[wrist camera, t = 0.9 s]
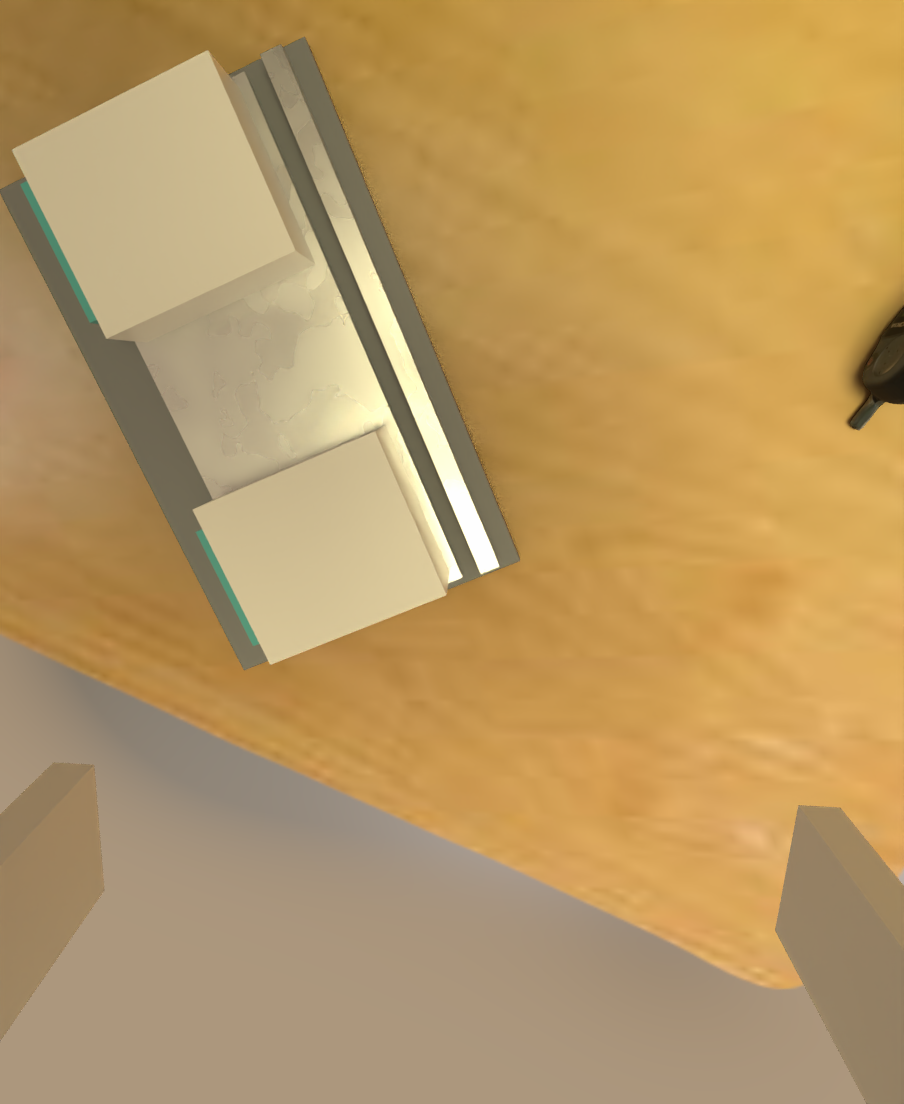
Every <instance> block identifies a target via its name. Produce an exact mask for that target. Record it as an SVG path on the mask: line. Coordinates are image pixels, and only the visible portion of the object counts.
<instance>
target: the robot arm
mask: <svg viewBox="0 0 904 1104" xmlns="http://www.w3.org/2000/svg"><path fill="white" fill-rule="evenodd" d="M103 891H104V879H103V867H102V855H101V842H100V831H99V818H98V805H97V794H96V782H95V769H94V765H87V764H70V763H53V764H52V765H51V766H50V767H49V768H47V770H45V771H44V772H43V773H42V774H41V775H40V776H39V777H38V778H37V779H36V780H35V781H34V782H33V783H32V784H31V785H30V786H29V787H28V788H27V789H26V790H25V791H24V792H23V793H22V794H21V795H20V796H19V797H18V798H17V799H16V800H15V801H14V802H12V803H11V804H10V805H9V806H8V807H7V808H6V809H5V810H4V811H3V812H2V813H1V814H0V1041H1V1039H2V1038H3V1037H4V1035H5V1034H6V1032H7V1031H8V1029H9V1028H10V1026H11V1025H12V1024H13V1022H14V1021H15V1019H16V1018H17V1016H18V1015H19V1013H20V1012H21V1010H22V1009H23V1007H24V1006H25V1005H26V1003H27V1002H28V1000H29V999H30V997H31V996H32V994H33V993H34V992H35V990H36V989H37V987H38V986H39V984H40V983H41V981H42V980H43V979H44V977H45V976H46V974H47V973H48V971H49V970H50V968H51V967H52V966H53V964H54V963H55V961H56V960H57V958H58V957H59V955H60V954H61V952H62V951H63V950H64V948H65V947H66V945H67V944H68V942H69V941H70V939H71V938H72V937H73V935H74V934H75V932H76V931H77V929H78V928H79V926H80V925H81V924H82V922H83V921H84V919H85V918H86V916H87V915H88V913H89V912H90V910H91V909H92V907H93V906H94V905H95V903H96V902H97V900H98V899H99V897H100V896H101V895H102V893H103ZM775 931H776V933H777V935H778V937H779V939H780V941H781V942H782V944H783V946H784V948H785V950H786V952H787V954H788V956H789V958H790V960H791V961H792V963H793V965H794V967H795V969H796V971H797V973H798V975H799V977H800V979H801V980H802V982H803V984H804V986H805V988H806V990H807V992H808V994H809V996H810V998H811V999H812V1001H813V1003H814V1005H815V1007H816V1009H817V1011H818V1013H819V1015H820V1016H821V1018H822V1020H823V1022H824V1024H825V1026H826V1028H827V1030H828V1032H829V1033H830V1036H831V1037H832V1039H833V1041H834V1043H835V1045H836V1047H837V1049H838V1051H839V1052H840V1055H841V1056H842V1058H843V1060H844V1062H845V1064H846V1066H847V1068H848V1070H849V1072H850V1073H851V1075H852V1077H853V1079H854V1081H855V1083H856V1085H857V1087H858V1089H859V1091H860V1092H861V1094H862V1096H863V1098H864V1100H865V1102H866V1104H904V885H903V884H902V883H901V882H900V881H899V879H898V878H897V877H896V876H895V874H894V873H893V872H892V871H891V870H890V868H889V867H888V866H887V865H886V863H885V862H884V861H883V860H882V858H881V857H880V856H879V855H878V854H877V852H876V851H875V850H874V849H873V847H872V846H871V845H870V844H869V842H868V841H867V840H866V839H865V838H864V836H863V835H862V834H861V833H860V831H859V830H858V829H857V828H856V827H855V825H854V824H853V823H852V822H851V820H850V819H849V818H848V817H847V815H846V814H845V813H844V812H843V811H842V809H841V808H837V807H820V806H802V805H798V811H797V816H796V821H795V827H794V832H793V837H792V843H791V848H790V853H789V859H788V864H787V869H786V875H785V880H784V886H783V891H782V896H781V902H780V907H779V912H778V918H777V923H776V928H775Z"/></svg>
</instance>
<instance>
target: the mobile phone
mask: <svg viewBox="0 0 904 1104" xmlns="http://www.w3.org/2000/svg"><path fill="white" fill-rule="evenodd" d="M862 380H863V382H864V385H865V387H866V388H867V389H868V390H869V391H870V392H871V395H870V397H869V398H868V400H867V402H866V403H865V404H864V405H863V406H862V408H861V409H860V410H859V411H858V413H857V414H856V415H855V416H854V418H853V419H852V420H851V422H850V425H851V426H852V428H854V429H856V430H860V429H862V428H863V427H864V426H865V425H866V423H867V422H868V421H869V420H870V418H871V417H872V416H873V414H874V413H875V412H876V410H877V409H878V408H879V407H880V406H881V405H882V404H883V403H885V402H888V403H893V404H904V308H903V309H902V310H901V311H900V313H899V314H898V315H897V317H896V318H895V319H894V320H893V322H892V323H891V324H890V326H889V327H888V328H887V330H886V331H885V333H884V334H883V336H882V337H881V339H880V341H879V343H878V346H877V347H876V349H875V351H874V352H873V354H872V356H871V357H870V359H869V361H868V362H867V364H866V366H865V368H864V371H863V377H862Z"/></svg>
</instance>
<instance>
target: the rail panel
mask: <svg viewBox="0 0 904 1104" xmlns="http://www.w3.org/2000/svg"><path fill="white" fill-rule="evenodd" d="M260 56H261V59H259V60H257V61H255V62H253V63H251V64H249V65H247V66H245V67H243V68H241V69H239V70H237V71H235V72H233V73H231V74H229V75H228V74H227V73H226V71H225V70H224V69H223V68H222V67H221V65H220V64H219V63H218V62H217V60H216V59H215V58H214V57H213V56H212V54H211V53H210V52H209V51H208V50H207V51H205V52H203V53H201V54H199V55H197V56H195V57H193V58H191V59H189V60H187V61H185V62H183V63H181V64H179V65H177V66H175V67H173V68H171V69H169V70H167V71H165V72H163V73H161V74H159V75H158V76H156V77H154V78H152V79H150V80H148V81H146V82H144V83H142V84H140V85H138V86H136V87H134V88H132V89H130V90H128V91H126V92H124V93H122V94H120V95H118V96H116V97H114V98H112V99H110V100H108V101H106V102H104V103H102V104H100V105H99V106H97V107H95V108H93V109H91V110H89V111H87V112H85V113H83V114H81V115H79V116H77V117H75V118H73V119H71V120H69V121H67V122H65V123H63V124H61V125H59V126H57V127H55V128H53V129H51V130H49V131H47V132H45V133H43V134H41V135H39V136H38V137H36V138H34V139H32V140H30V141H28V142H26V143H24V144H22V145H20V146H18V147H16V148H14V149H12V152H13V154H14V156H15V158H16V160H17V162H18V164H19V166H20V168H21V170H22V172H23V174H24V176H25V177H24V178H22V179H20V180H18V181H16V182H14V183H12V184H10V185H8V186H6V187H4V188H2V189H0V194H1V196H2V198H3V200H4V202H5V204H6V206H7V208H8V210H9V212H10V214H11V216H12V217H13V219H14V221H15V223H16V225H17V227H18V229H19V231H20V233H21V235H22V237H23V239H24V241H25V243H26V245H27V247H28V249H29V251H30V253H31V255H32V257H33V259H34V261H35V262H36V264H37V266H38V268H39V270H40V272H41V274H42V276H43V278H44V280H45V282H46V284H47V286H48V288H49V290H50V292H51V294H52V296H53V298H54V300H55V302H56V304H57V305H58V307H59V309H60V311H61V313H62V315H63V317H64V319H65V321H66V323H67V325H68V327H69V329H70V331H71V333H72V335H73V337H74V339H75V341H76V343H77V345H78V347H79V348H80V350H81V352H82V354H83V356H84V358H85V360H86V362H87V364H88V366H89V368H90V370H91V372H92V374H93V376H94V378H95V380H96V382H97V384H98V386H99V388H100V390H101V392H102V393H103V395H104V397H105V399H106V401H107V403H108V405H109V407H110V409H111V411H112V413H113V415H114V417H115V419H116V421H117V423H118V425H119V427H120V429H121V431H122V433H123V435H124V436H125V438H126V440H127V442H128V444H129V446H130V448H131V450H132V452H133V454H134V456H135V458H136V460H137V462H138V464H139V466H140V468H141V470H142V472H143V474H144V476H145V478H146V480H147V481H148V483H149V485H150V487H151V489H152V491H153V493H154V495H155V497H156V499H157V501H158V503H159V505H160V507H161V509H162V511H163V513H164V515H165V517H166V519H167V521H168V523H169V524H170V526H171V528H172V530H173V532H174V534H175V536H176V538H177V540H178V542H179V544H180V546H181V548H182V550H183V552H184V554H185V556H186V558H187V560H188V562H189V564H190V566H191V567H192V569H193V571H194V573H195V575H196V577H197V579H198V581H199V583H200V585H201V587H202V589H203V591H204V593H205V595H206V597H207V599H208V601H209V603H210V605H211V607H212V609H213V611H214V612H215V614H216V616H217V618H218V620H219V622H220V624H221V626H222V628H223V630H224V632H225V634H226V636H227V638H228V640H229V642H230V644H231V646H232V648H233V650H234V652H235V654H236V655H237V657H238V659H239V661H240V663H241V665H242V667H243V669H244V670H246V669H249V668H251V667H254V666H256V665H259V664H261V663H264V662H266V661H269V663H270V665H271V664H274V663H276V662H279V661H281V660H284V659H286V658H289V657H291V656H294V655H297V654H299V653H302V652H304V651H307V650H309V649H312V648H314V647H317V646H319V645H322V644H324V643H327V642H329V641H332V640H334V639H337V638H339V637H342V636H345V635H347V634H350V633H352V632H355V631H357V630H360V629H362V628H365V627H367V626H370V625H372V624H375V623H377V622H380V621H382V620H385V619H387V618H390V617H393V616H395V615H398V614H400V613H403V612H405V611H408V610H410V609H413V608H415V607H418V606H420V605H423V604H425V603H428V602H430V601H433V600H436V599H438V598H441V597H443V596H446V595H447V590H448V589H450V588H453V587H455V586H458V585H460V584H463V583H465V582H468V581H471V580H473V579H476V578H478V577H481V576H483V575H486V574H488V573H491V572H493V571H496V570H498V569H501V568H503V567H506V566H508V565H511V564H513V563H516V562H518V561H520V558H519V555H518V552H517V550H516V547H515V545H514V542H513V540H512V538H511V535H510V533H509V530H508V528H507V525H506V523H505V521H504V518H503V516H502V513H501V511H500V508H499V506H498V504H497V501H496V499H495V496H494V494H493V491H492V489H491V486H490V484H489V482H488V479H487V477H486V474H485V472H484V469H483V467H482V465H481V462H480V460H479V457H478V455H477V452H476V450H475V448H474V445H473V443H472V440H471V438H470V435H469V433H468V431H467V428H466V426H465V423H464V421H463V418H462V416H461V414H460V411H459V409H458V406H457V404H456V401H455V399H454V397H453V394H452V392H451V389H450V387H449V384H448V382H447V380H446V377H445V375H444V372H443V370H442V367H441V365H440V363H439V360H438V358H437V355H436V353H435V350H434V348H433V346H432V343H431V341H430V338H429V336H428V333H427V331H426V329H425V326H424V324H423V321H422V319H421V316H420V314H419V312H418V309H417V307H416V304H415V302H414V299H413V297H412V294H411V292H410V290H409V287H408V285H407V282H406V280H405V277H404V275H403V273H402V270H401V268H400V265H399V263H398V260H397V258H396V256H395V253H394V251H393V248H392V246H391V243H390V241H389V239H388V236H387V234H386V231H385V229H384V226H383V224H382V222H381V219H380V217H379V214H378V212H377V209H376V207H375V205H374V202H373V200H372V197H371V195H370V192H369V190H368V188H367V185H366V183H365V180H364V178H363V175H362V173H361V171H360V168H359V166H358V163H357V161H356V158H355V156H354V154H353V151H352V149H351V146H350V144H349V141H348V139H347V137H346V134H345V132H344V129H343V127H342V124H341V122H340V119H339V117H338V115H337V112H336V110H335V107H334V105H333V102H332V100H331V98H330V95H329V93H328V90H327V88H326V85H325V83H324V81H323V78H322V76H321V73H320V71H319V68H318V66H317V64H316V61H315V59H314V56H313V54H312V51H311V49H310V47H309V45H308V43H307V41H306V39H305V37H303V38H301V39H299V40H297V41H295V42H293V43H291V44H289V45H287V46H285V47H282V45H281V44H280V45H278V46H276V47H274V48H272V49H270V50H268V51H266V52H264V53H262V54H260Z"/></svg>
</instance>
